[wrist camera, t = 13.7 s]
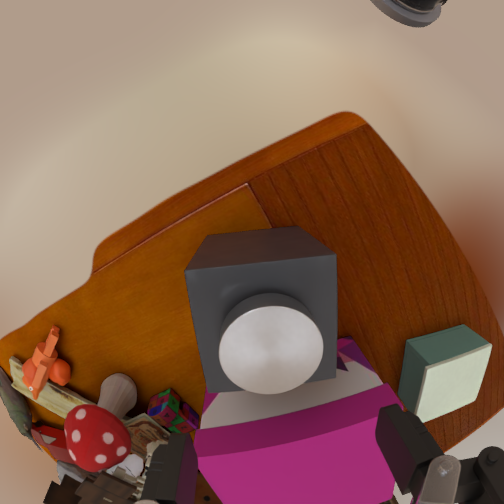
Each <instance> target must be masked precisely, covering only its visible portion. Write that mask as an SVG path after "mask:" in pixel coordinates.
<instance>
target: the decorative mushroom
mask: <svg viewBox="0 0 504 504" xmlns="http://www.w3.org/2000/svg"><path fill="white" fill-rule="evenodd" d="M136 400H137V389H136V385H135V383H134V382H133V380H132V379H131V378H130V377H128V376H127V375H125V374H121V373H115V374H113V375H111V376H109V377H108V378H106V379H105V380H104V381H103V383H102V385H101V394H100V398H99V401H98V404H97V406H96V405H91V404H82V405H78V406H76V407H74V408H73V409H72V410H71V411H69V412H68V414H67V416H66V419H65V423H64V431H65V436H66V444H67V450H68V452H69V455H70V457H71V458H72V460H73V461H74V462H75V463H76V464H77V465H78V466H79V467H80V468H82V469H84V470H86V471H89V472H101V471H102V470H103V471H106V470H108V469H110V468H111V467H113V466H115V465H117V464H119V463H122V462H123V461H124V460H125V458H126V457H127V456H128V455H129V453H130V452H131V437H130V434H129V431H128V430H127V428H126V427H125V425H124V424H123V422H121V419H122V418H123V417H124V415H125V414H126V413H127V412H128V411H129V410H131V409H132V408H133V407H134V406H135V404H136Z"/></svg>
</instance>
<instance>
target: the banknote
mask: <svg viewBox="0 0 504 504" xmlns="http://www.w3.org/2000/svg"><path fill="white" fill-rule="evenodd" d="M123 424H124V425H125V427H126V428H127V430H128V431H129V434H130V437H131V452H132V453H134V454H136V455H137V456H139V457H140V458H142V459H143V460H146V456H147V448H146V447H147V444H149V443H151V442H152V441H153V442H155V443H156V441H157V440H160V441H162V442H163V441H166V442H168V440H169V436H170V433H169V432H168V431H166V430H165V429H164V428H162V427H161V426H160V425H159V424H157V423H156V422H155V421H154V420H153V419H151V418H150V417H149V416H148V415H147V414H145V413H143V414H141V415H138V416H137V417H134V418H132V419H130V420H127V421H125V422H123Z"/></svg>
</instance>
